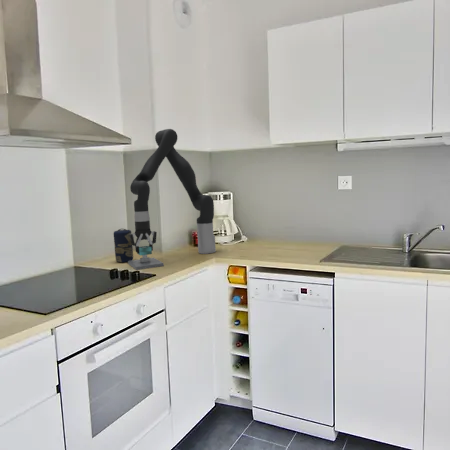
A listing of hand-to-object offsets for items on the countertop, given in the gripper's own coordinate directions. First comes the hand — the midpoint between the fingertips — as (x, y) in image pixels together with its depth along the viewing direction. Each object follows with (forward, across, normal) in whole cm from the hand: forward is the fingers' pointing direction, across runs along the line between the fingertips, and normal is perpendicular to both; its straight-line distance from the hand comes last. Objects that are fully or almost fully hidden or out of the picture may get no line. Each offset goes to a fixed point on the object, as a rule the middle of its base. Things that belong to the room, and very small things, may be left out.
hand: (144, 252), depth 217 cm
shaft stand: (+7, 0, 0) cm, 7 cm away
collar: (+1, 0, 0) cm, 1 cm away
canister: (+7, +7, -17) cm, 20 cm away
